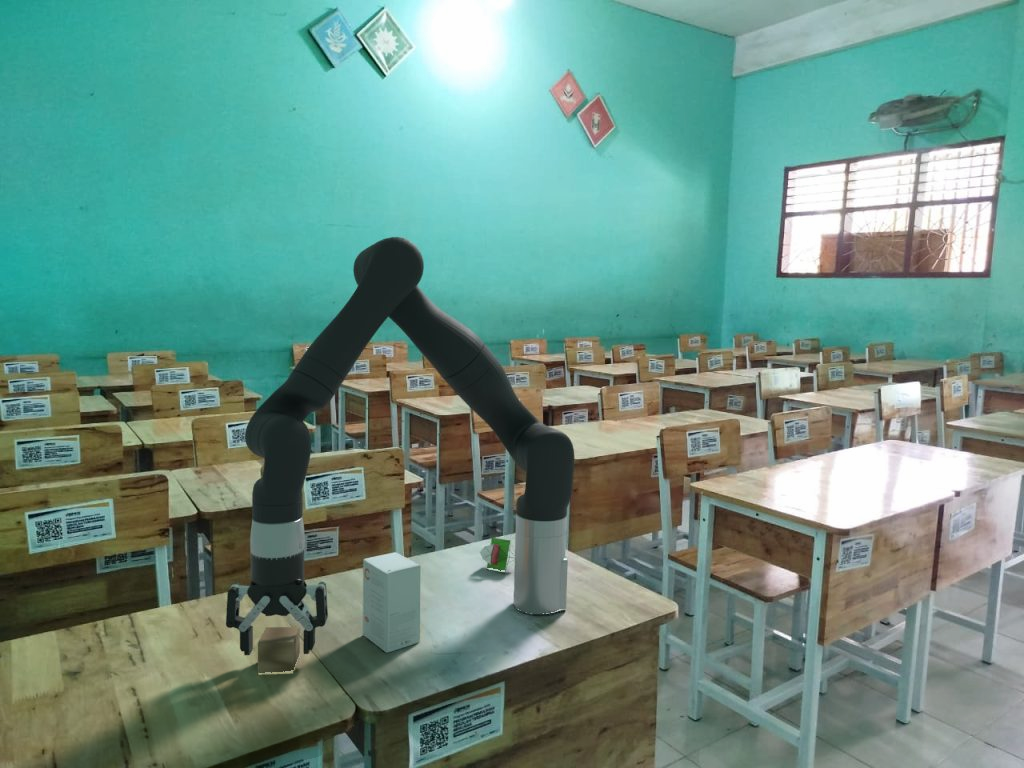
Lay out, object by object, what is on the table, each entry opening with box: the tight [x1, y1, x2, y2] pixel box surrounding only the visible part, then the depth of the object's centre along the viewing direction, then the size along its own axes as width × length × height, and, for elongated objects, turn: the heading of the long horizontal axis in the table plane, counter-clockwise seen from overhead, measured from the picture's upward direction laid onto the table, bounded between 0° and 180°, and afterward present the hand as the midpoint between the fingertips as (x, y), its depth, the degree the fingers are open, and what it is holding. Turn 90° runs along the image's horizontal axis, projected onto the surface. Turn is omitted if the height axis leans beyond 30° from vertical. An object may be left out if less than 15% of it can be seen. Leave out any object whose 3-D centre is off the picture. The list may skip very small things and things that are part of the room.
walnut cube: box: [257, 626, 301, 674], centre depth 106 cm, size 5×5×5 cm
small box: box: [362, 551, 421, 653], centre depth 115 cm, size 8×6×13 cm
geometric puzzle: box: [479, 537, 515, 571], centre depth 147 cm, size 7×7×8 cm
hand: (277, 652), depth 106 cm, fingers open, 8 cm apart
